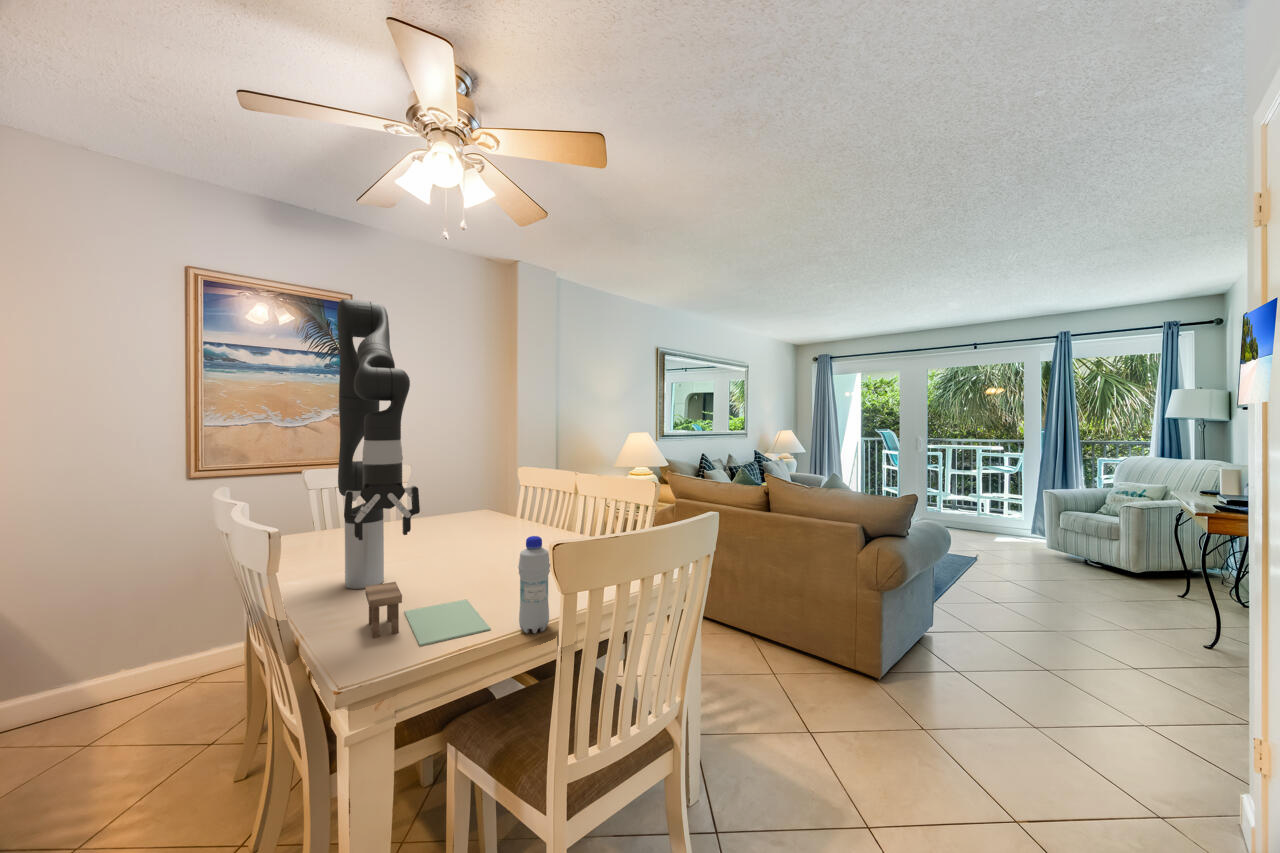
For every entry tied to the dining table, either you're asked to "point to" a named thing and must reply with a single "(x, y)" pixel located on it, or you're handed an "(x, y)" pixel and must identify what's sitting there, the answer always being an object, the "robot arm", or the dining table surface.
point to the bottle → (534, 586)
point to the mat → (445, 622)
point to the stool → (383, 597)
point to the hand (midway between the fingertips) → (383, 536)
